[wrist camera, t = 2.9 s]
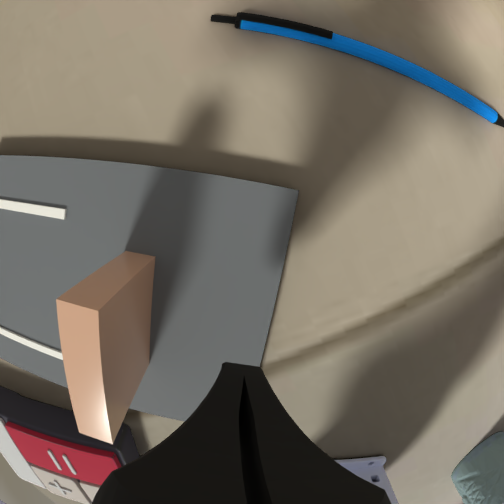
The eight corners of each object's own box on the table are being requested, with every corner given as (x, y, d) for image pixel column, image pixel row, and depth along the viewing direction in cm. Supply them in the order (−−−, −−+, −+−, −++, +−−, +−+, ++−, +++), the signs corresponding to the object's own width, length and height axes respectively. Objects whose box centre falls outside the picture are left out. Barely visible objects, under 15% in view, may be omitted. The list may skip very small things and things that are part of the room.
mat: (295, 189, 14) (304, 191, 12) (243, 419, 17) (243, 444, 15) (-4, 154, 13) (-27, 155, 10) (7, 351, 16) (-9, 365, 14)
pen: (214, 15, 12) (212, 5, 11) (504, 122, 13) (515, 121, 12) (210, 28, 12) (207, 18, 11) (504, 134, 13) (515, 133, 12)
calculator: (151, 522, 17) (17, 481, 15) (156, 488, 21) (30, 456, 20) (117, 457, 14) (-34, 405, 13) (131, 414, 18) (-11, 379, 17)
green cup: (431, 487, 22) (464, 556, 10) (483, 429, 19) (535, 500, 8) (477, 473, 22) (510, 527, 11) (522, 419, 20) (567, 472, 9)
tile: (155, 256, 13) (98, 311, 7) (149, 363, 15) (112, 444, 9) (122, 250, 13) (52, 297, 7) (121, 356, 15) (76, 431, 9)
